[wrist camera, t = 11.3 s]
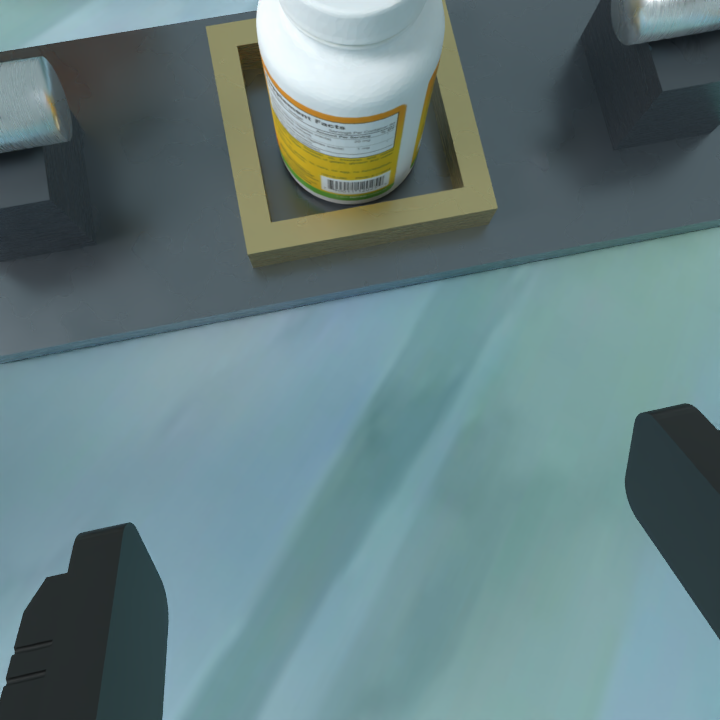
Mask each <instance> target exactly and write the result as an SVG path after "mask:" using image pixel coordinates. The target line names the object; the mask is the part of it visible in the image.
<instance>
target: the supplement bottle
mask: <svg viewBox="0 0 720 720" xmlns="http://www.w3.org/2000/svg"><path fill="white" fill-rule="evenodd" d="M256 28H257V37H258V45H259V50H260V55H261V59H262V64H263V69H264V74H265V79H266V84H267V89H268V94H269V99H270V104H271V110H272V115H273V120H274V126H275V131H276V136H277V141H278V145H279V149H280V153H281V156H282V159H283V161H284V164H285V166H286V168H287V169H288V171H289V172H290V174H291V175H292V177H293V178H294V179H295V180H296V181H297V182H298V184H300V185H301V186H302V187H303V188H304V189H305V190H307V191H308V192H309V193H311V194H313V195H314V196H316V197H318V198H321V199H323V200H326V201H330V202H334V203H339V204H362V203H367V202H370V201H374V200H376V199H379V198H381V197H383V196H385V195H387V194H388V193H390V192H391V191H393V190H394V189H395V188H396V187H398V186H399V185H400V184H401V183H402V182H403V181H404V179H405V178H406V177H407V175H408V174H409V172H410V171H411V169H412V167H413V165H414V163H415V160H416V157H417V154H418V151H419V147H420V143H421V139H422V134H423V129H424V125H425V120H426V116H427V112H428V107H429V103H430V99H431V95H432V91H433V86H434V82H435V78H436V74H437V70H438V66H439V62H440V57H441V52H442V46H443V40H444V32H445V16H444V9H443V4H442V0H259V2H258V7H257V15H256Z"/></svg>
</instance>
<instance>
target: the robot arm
mask: <svg viewBox="0 0 720 720" xmlns="http://www.w3.org/2000/svg"><path fill="white" fill-rule="evenodd" d="M625 489H626V494H627V498H628V501H629V504H630V507H631V509H632V511H633V513H634V515H635V517H636V518H637V520H638V521H639V523H640V524H641V525H642V527H643V528H644V530H645V531H646V533H647V534H648V536H649V537H650V539H651V540H652V541H653V543H654V544H655V546H656V547H657V549H658V550H659V552H660V553H661V555H662V556H663V558H664V559H665V560H666V562H667V563H668V565H669V566H670V568H671V569H672V571H673V572H674V574H675V575H676V576H677V578H678V579H679V581H680V582H681V584H682V585H683V587H684V588H685V590H686V591H687V593H688V594H689V595H690V597H691V598H692V600H693V601H694V603H695V604H696V606H697V607H698V609H699V610H700V611H701V613H702V614H703V616H704V617H705V619H706V620H707V622H708V623H709V625H710V626H711V628H712V629H713V630H714V632H715V633H716V635H717V636H718V638H719V639H720V430H717V429H716V428H715V427H714V426H713V425H712V424H711V423H710V422H709V421H708V420H707V418H706V417H705V416H704V415H703V414H702V413H701V412H700V411H699V410H698V409H697V408H696V407H694V406H693V405H690V404H686V403H685V404H680V405H676V406H671V407H666V408H662V409H657V410H653V411H648V412H643V413H640V414H639V415H638V416H637V417H636V419H635V423H634V429H633V435H632V440H631V446H630V452H629V458H628V464H627V470H626V476H625ZM167 636H168V605H167V598H166V593H165V589H164V586H163V583H162V580H161V578H160V576H159V574H158V572H157V570H156V568H155V566H154V564H153V562H152V560H151V558H150V555H149V553H148V551H147V549H146V547H145V545H144V543H143V541H142V539H141V537H140V535H139V533H138V531H137V529H136V527H135V526H134V524H132V523H130V522H129V523H124V524H120V525H115V526H111V527H106V528H101V529H97V530H92V531H88V532H83V533H80V534H78V536H77V537H76V539H75V541H74V545H73V549H72V554H71V559H70V563H69V568H68V572H67V573H64V574H60V575H55V576H51V577H47V578H46V579H45V581H44V582H43V584H42V585H41V587H40V588H39V590H38V591H37V593H36V594H35V596H34V597H33V599H32V600H31V602H30V603H29V605H28V606H27V608H26V609H25V611H24V613H23V616H22V620H21V624H20V627H19V631H18V635H17V639H16V642H15V646H14V650H15V654H14V655H12V657H11V661H10V665H9V668H8V672H7V676H6V681H7V684H6V686H4V687H3V691H2V694H1V698H0V720H162V715H163V699H164V683H165V668H166V652H167Z"/></svg>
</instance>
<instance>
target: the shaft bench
mask: <svg viewBox="0 0 720 720" xmlns="http://www.w3.org/2000/svg"><path fill="white" fill-rule="evenodd" d="M442 4H443V9H444V16H445V32H444V40H443V46H442V52H441V57H440V62H439V66H438V70H437V74H436V78H435V82H434V86H433V91H432V95H431V99H430V103H429V107H428V112H427V116H426V120H425V125H424V129H423V134H422V139H421V143H420V147H419V151H418V154H417V157H416V160H415V163H414V165H413V167H412V169H411V171H410V172H409V174H408V175H407V177H406V178H405V179H404V181H403V182H402V183H401V184H400V185H399V186H398V187H396V188H395V189H394V190H393V191H391V192H390V193H388V194H387V195H385V196H383V197H381V198H379V199H376V200H374V201H370V202H367V203H362V204H339V203H334V202H330V201H326V200H323V199H321V198H318V197H316V196H314V195H313V194H311V193H309V192H308V191H307V190H305V189H304V188H303V187H302V186H301V185H300V184H298V182H297V181H296V180H295V179H294V178H293V177H292V175H291V174H290V172H289V171H288V169H287V168H286V166H285V164H284V161H283V159H282V156H281V153H280V149H279V145H278V141H277V136H276V131H275V126H274V120H273V115H272V110H271V104H270V99H269V94H268V89H267V84H266V79H265V74H264V69H263V64H262V59H261V55H260V50H259V45H258V37H257V28H256V15H257V11H251V12H245V13H238V14H232V15H226V16H220V17H214V18H208V19H201V20H195V21H189V22H183V23H177V24H171V25H164V26H158V27H152V28H146V29H140V30H134V31H127V32H121V33H115V34H109V35H103V36H97V37H90V38H84V39H78V40H72V41H66V42H60V43H53V44H47V45H41V46H35V47H29V48H23V49H16V50H10V51H4V52H0V364H1V363H7V362H12V361H17V360H22V359H28V358H33V357H38V356H43V355H48V354H54V353H59V352H64V351H69V350H75V349H80V348H85V347H90V346H96V345H101V344H106V343H111V342H116V341H122V340H127V339H132V338H137V337H143V336H148V335H153V334H158V333H164V332H169V331H174V330H179V329H184V328H190V327H195V326H200V325H205V324H211V323H216V322H221V321H226V320H232V319H237V318H242V317H247V316H252V315H258V314H263V313H268V312H273V311H279V310H284V309H289V308H294V307H300V306H305V305H310V304H315V303H320V302H326V301H331V300H336V299H341V298H347V297H352V296H357V295H362V294H368V293H373V292H378V291H383V290H388V289H394V288H399V287H404V286H409V285H415V284H420V283H425V282H430V281H436V280H441V279H446V278H451V277H456V276H462V275H467V274H472V273H477V272H483V271H488V270H493V269H498V268H504V267H509V266H514V265H519V264H524V263H530V262H535V261H540V260H545V259H551V258H556V257H561V256H566V255H572V254H577V253H582V252H587V251H592V250H598V249H603V248H608V247H613V246H619V245H624V244H629V243H634V242H640V241H645V240H650V239H655V238H660V237H666V236H671V235H676V234H681V233H687V232H692V231H697V230H702V229H708V228H713V227H718V226H720V0H442Z"/></svg>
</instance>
